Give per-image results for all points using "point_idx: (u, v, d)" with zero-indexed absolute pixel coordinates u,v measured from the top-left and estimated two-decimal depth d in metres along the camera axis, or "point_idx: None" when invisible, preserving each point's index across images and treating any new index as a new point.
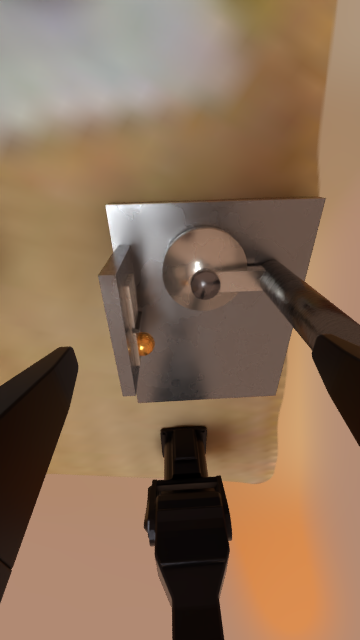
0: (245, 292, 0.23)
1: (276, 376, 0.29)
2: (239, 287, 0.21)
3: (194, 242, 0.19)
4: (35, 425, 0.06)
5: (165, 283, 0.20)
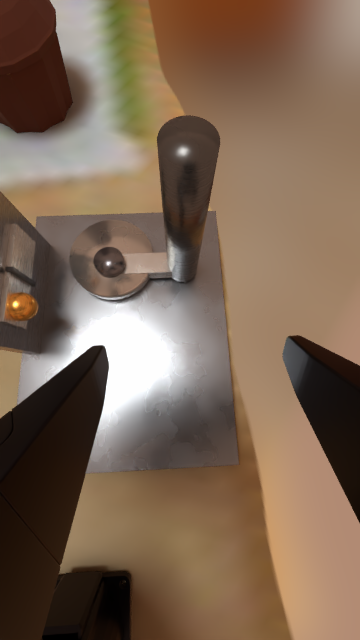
0: (161, 289, 0.22)
1: (229, 419, 0.19)
2: (146, 268, 0.20)
3: (101, 229, 0.21)
4: (79, 423, 0.06)
5: (71, 265, 0.20)
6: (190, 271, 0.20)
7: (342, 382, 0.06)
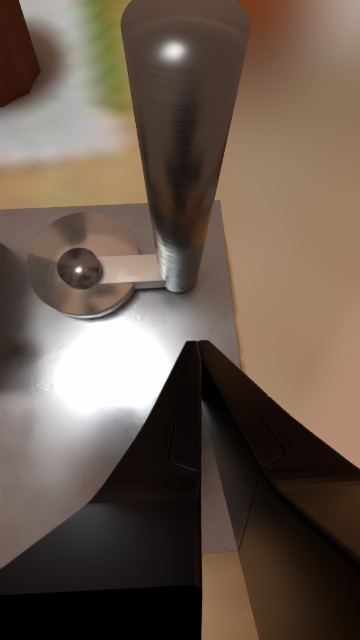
0: (151, 302, 0.16)
1: None
2: (130, 276, 0.15)
3: (70, 225, 0.16)
4: None
5: (29, 273, 0.15)
6: (189, 279, 0.15)
7: (217, 389, 0.06)
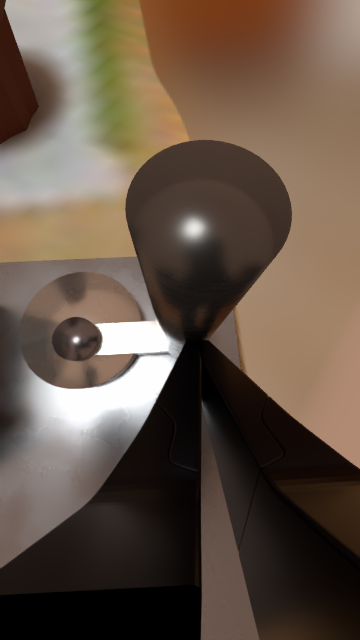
0: (154, 368, 0.15)
1: None
2: (131, 346, 0.14)
3: (67, 286, 0.15)
4: None
5: (22, 342, 0.14)
6: None
7: (217, 389, 0.06)
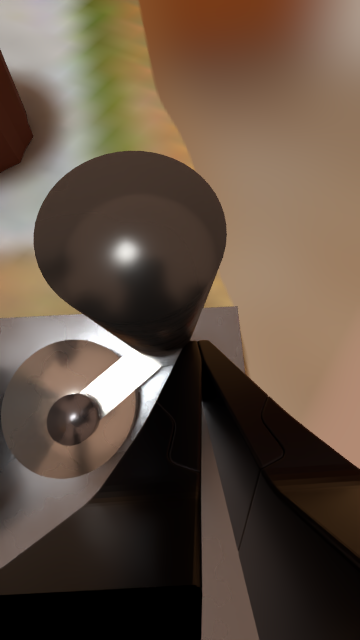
0: None
1: None
2: (128, 386, 0.13)
3: (27, 378, 0.13)
4: None
5: (23, 461, 0.12)
6: None
7: (216, 389, 0.06)
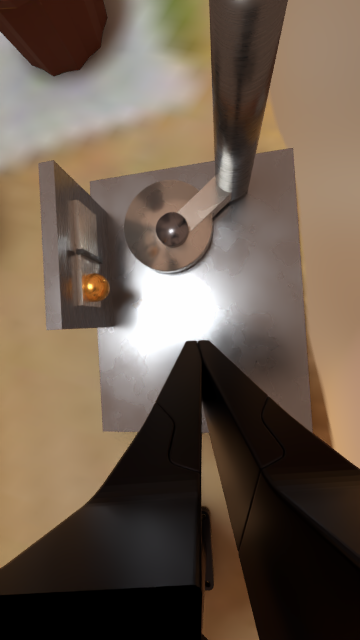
0: (228, 254, 0.20)
1: (303, 391, 0.19)
2: (207, 208, 0.18)
3: (137, 210, 0.19)
4: None
5: (142, 260, 0.19)
6: (250, 175, 0.17)
7: (217, 389, 0.06)
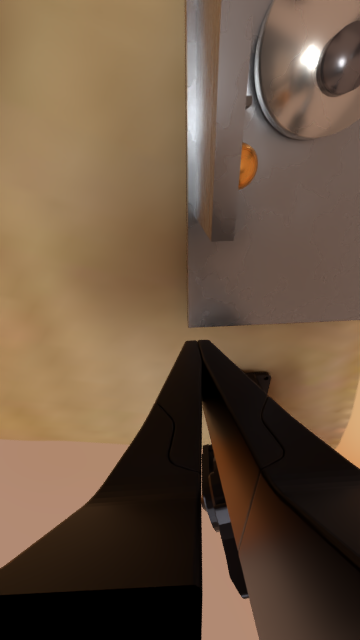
0: None
1: None
2: None
3: (295, 0, 0.11)
4: None
5: (280, 117, 0.13)
6: None
7: (217, 389, 0.06)
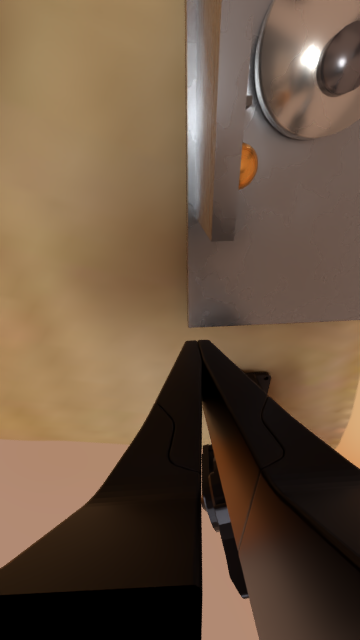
0: None
1: None
2: None
3: (295, 0, 0.11)
4: None
5: (280, 117, 0.13)
6: None
7: (217, 389, 0.06)
